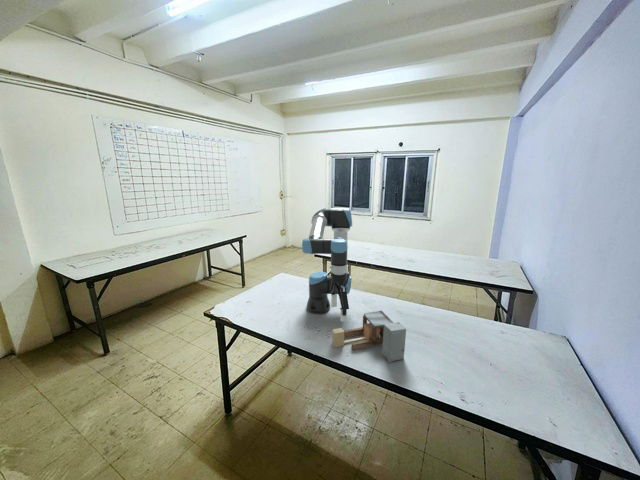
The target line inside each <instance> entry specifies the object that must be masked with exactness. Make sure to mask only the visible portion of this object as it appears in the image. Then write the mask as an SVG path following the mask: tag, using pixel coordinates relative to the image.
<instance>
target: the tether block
mask: <svg viewBox="0 0 640 480" xmlns="http://www.w3.org/2000/svg"><path fill="white" fill-rule="evenodd" d="M372 327H373V326H372V325H371V324H370V322H367V324H364V334H363V337H362V336H361V337H357V338H352V339H347V340H345V336H344V329H343V328H342V327H339V328H333V329H332V330H331V331H332V333H331V334H332V335H331V338H332V342H331V343H332V346H333V348H339V347H340V348H341V347H344V346H345V345H346V344H352V343H354V342H359V341H364V340H369V339H372ZM380 335H381V332H380V328H377V332H376V338H379V337H381V336H380Z"/></svg>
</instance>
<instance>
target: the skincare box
mask: <svg viewBox="0 0 640 480" xmlns="http://www.w3.org/2000/svg"><path fill="white" fill-rule="evenodd" d="M406 334H407V328H406V327H405V326H404V325H402V324H401V322H399V321H398V322H394V323H389V324H384V332H383V335H382V337H383V344H382V349H381V351H382V353H381V354H382V355H383V357H384V358H386V360H387V361H388V362H389V363H391V362H395V361H400V360H403V359H404V358H405V348H406V347H405V346H406Z"/></svg>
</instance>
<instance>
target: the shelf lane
mask: <svg viewBox="0 0 640 480" xmlns="http://www.w3.org/2000/svg"><path fill="white" fill-rule="evenodd" d="M367 323H370V324H371V325H372V326H373V327H372V339H369V340H363V341H358V342H353V343H351V350H352V351H356V350H361V349H366V348H371V347H375V346H376V347H377V346H380V345H383V332H384V324H389V323H395V322H394V321H393V320H392V319H391V318H390V317H389V316H388V315H387V314H386V313H385V312H384V311H383V310H377V311H371V312H365V313H363V315H362V327H355V328H350V329H343V331H344V338H348V337H354V336H359V335H364V324H367ZM377 328H380V335H382V336H380V337H379V338H376V332H377Z"/></svg>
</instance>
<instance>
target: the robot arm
mask: <svg viewBox="0 0 640 480" xmlns="http://www.w3.org/2000/svg"><path fill="white" fill-rule="evenodd" d="M351 212H352V211H351V209H350V208H347V207H346V208H345V207H325V208H322V209H319V210H318V211H317V212H315V213H314V214H313V216H312V217H311V221H310V222H311V228H310V231H309V234H308V238H303V239H302V242H301V243H302V244H301V251H302V253H304V254H309V255H318V254H319V255H322V254H323V255H330V266H329V269H330V275H329V274H328V273H327V272H325V271H316V272H313V273H311V274H310V275H309V277H308V292H309V293H308V295H309V297H308V300H307V303H306V310H307V311H308V312H310V313H312V314H317V315H321V314H325V313H327V312H328V311H330V309H331V308H335V307H337V306H338V305H337V304H338V299H339V302H340V308H339V310H340V322H346V321H347V315H348V313H347V312H348V311H347V310H350V306H349V299H348V295H349V293H350V292H351V288H352V279H353V276H352V275H350V272H349V270H348V249H349V248H348V247H349V246H348V232H349V231H350V230H351V228H353V218H352V213H351ZM326 227H331V230H332V232H333V238H324V235H325V234H324V233H325V228H326ZM328 295H331V296H330V297H331V300H329V297H328ZM330 301H331V302H330Z"/></svg>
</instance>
